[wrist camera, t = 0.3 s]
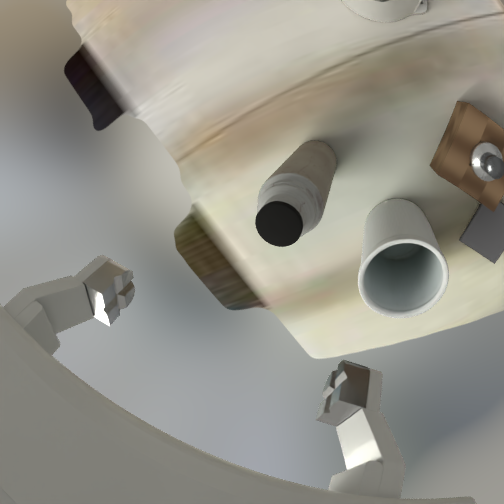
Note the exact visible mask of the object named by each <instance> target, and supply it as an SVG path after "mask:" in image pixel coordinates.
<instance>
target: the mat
mask: <svg viewBox="0 0 504 504" xmlns="http://www.w3.org/2000/svg"><path fill="white" fill-rule="evenodd" d="M459 240H460V241H461V242H462V243H464V244H466V245H467V246H469V247H470V248H472V249H473V250H475V251H476V252H478V253H479V254H481V255H483V256H484V257H486V258H487V259H488V260H490V261H491V262H493V263H494V264H495V262H496V261H497V260H498V258H499V257H500V255H501V254H502V252H503V251H504V205H503V204H502V203H501V202H499V204H498V206H497V208H496V209H495V211H494V212H492V211H491V210H490V209H488V208H487V207H486V206H484V205H483V204H482V203H481V204H480V206H479V208H478V209H477V211H476V213H475V215H474V216H473V218H472V220H471V221H470V223H469V225H468V226H467V228H466V230H465V231H464V233H463V234H462V236H461V237H460V239H459Z"/></svg>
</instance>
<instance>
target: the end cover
mask: <svg viewBox="0 0 504 504" xmlns="http://www.w3.org/2000/svg"><path fill="white" fill-rule="evenodd" d="M470 166H471V169H472V170H473V172H474V173H475V174H476V175H477V176H478V177H479V178H480V179H482V180H484V181H493V180H495V179H500V178H501V177H502V176H503V175H504V162H503V158H502V154H501V152H500V151H499V149H498V148H497V147H496V146H495V145H493V144H491V143H489V142H486V141H482V142H479V143H477V144H476V145H475V146H474V147H473V148H472V150H471V153H470Z"/></svg>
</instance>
